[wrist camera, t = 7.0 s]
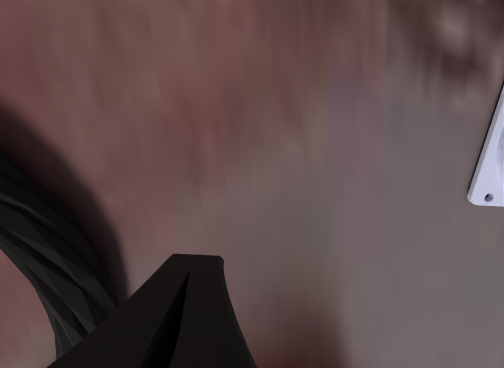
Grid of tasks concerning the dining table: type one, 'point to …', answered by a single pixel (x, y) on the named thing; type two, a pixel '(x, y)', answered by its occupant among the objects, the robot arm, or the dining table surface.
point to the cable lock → (53, 257)
